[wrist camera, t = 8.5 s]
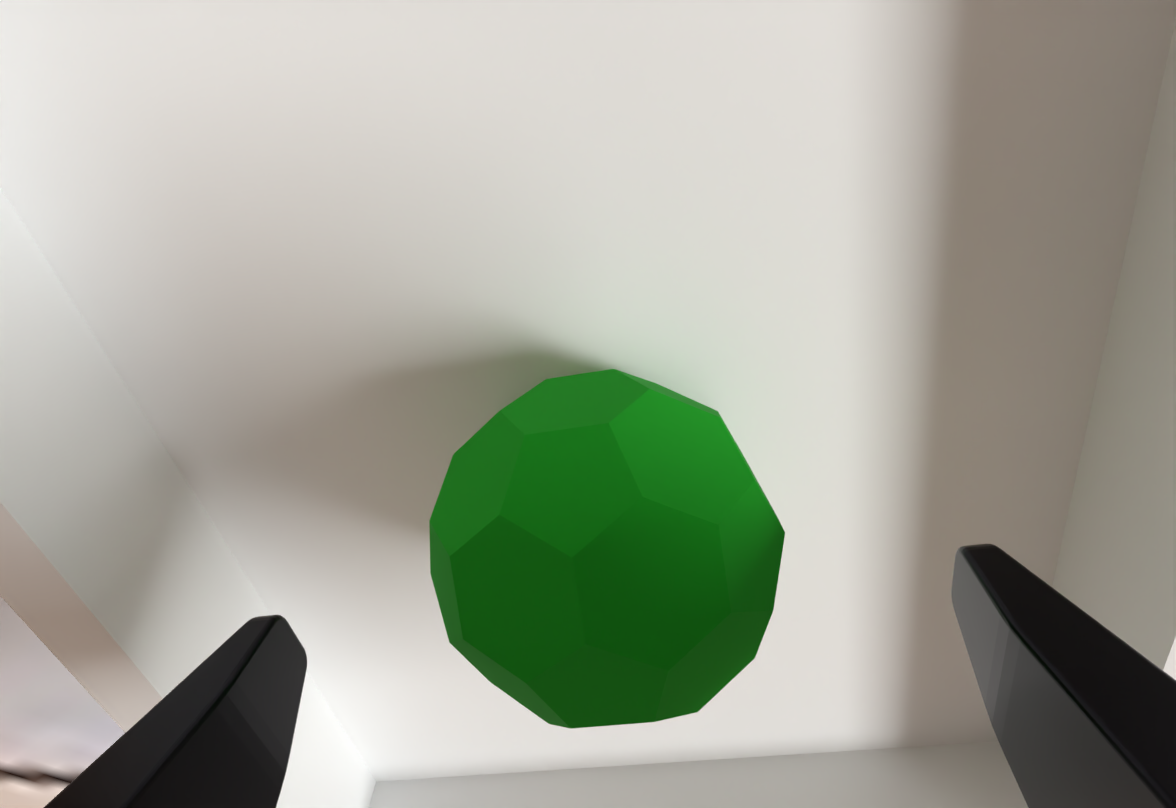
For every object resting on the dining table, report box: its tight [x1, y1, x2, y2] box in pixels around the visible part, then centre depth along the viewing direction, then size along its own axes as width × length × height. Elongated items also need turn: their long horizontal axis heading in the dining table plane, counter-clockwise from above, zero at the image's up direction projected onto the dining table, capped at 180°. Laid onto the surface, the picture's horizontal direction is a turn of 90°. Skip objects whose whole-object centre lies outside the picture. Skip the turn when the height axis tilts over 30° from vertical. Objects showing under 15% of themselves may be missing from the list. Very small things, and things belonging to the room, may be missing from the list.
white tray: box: [0, 0, 1176, 808], centre depth 12 cm, size 18×22×4 cm
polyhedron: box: [429, 369, 785, 729], centre depth 11 cm, size 5×5×5 cm
